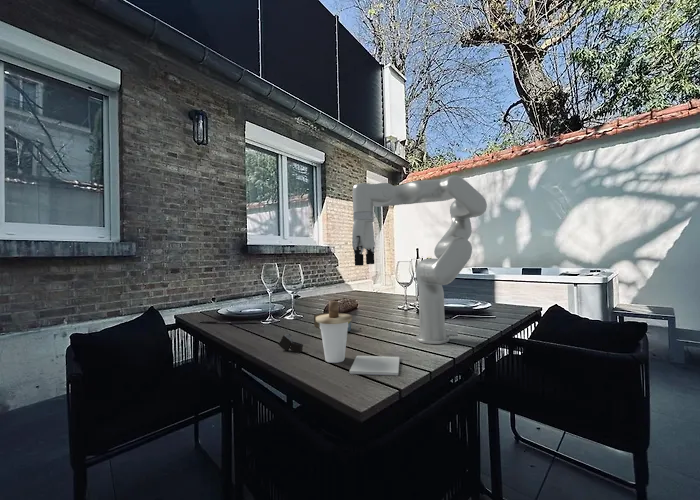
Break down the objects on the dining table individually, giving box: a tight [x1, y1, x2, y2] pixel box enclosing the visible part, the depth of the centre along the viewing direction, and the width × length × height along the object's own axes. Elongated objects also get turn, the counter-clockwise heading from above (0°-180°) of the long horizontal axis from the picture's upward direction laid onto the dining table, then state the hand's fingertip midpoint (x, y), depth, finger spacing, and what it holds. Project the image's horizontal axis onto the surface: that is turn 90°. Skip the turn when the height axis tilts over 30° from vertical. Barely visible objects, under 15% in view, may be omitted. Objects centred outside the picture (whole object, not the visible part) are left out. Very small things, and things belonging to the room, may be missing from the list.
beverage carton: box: [313, 312, 352, 332], centre depth 153 cm, size 8×19×6 cm, turn 41°
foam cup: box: [319, 322, 348, 364], centre depth 110 cm, size 10×9×13 cm
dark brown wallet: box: [277, 333, 304, 354], centre depth 120 cm, size 9×2×6 cm
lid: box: [316, 300, 353, 324], centre depth 110 cm, size 12×12×6 cm
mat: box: [349, 355, 401, 376], centre depth 102 cm, size 14×14×1 cm
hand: (364, 264), depth 122 cm, fingers open, 9 cm apart
